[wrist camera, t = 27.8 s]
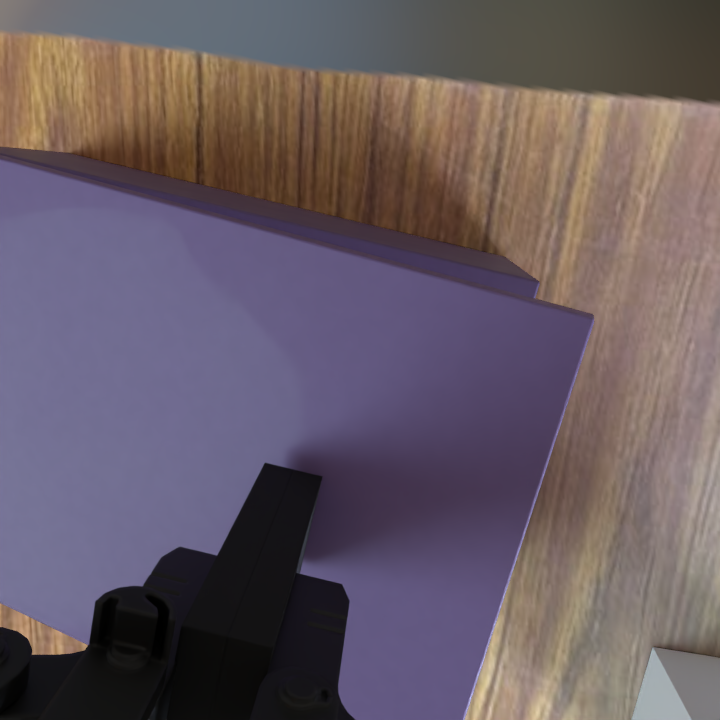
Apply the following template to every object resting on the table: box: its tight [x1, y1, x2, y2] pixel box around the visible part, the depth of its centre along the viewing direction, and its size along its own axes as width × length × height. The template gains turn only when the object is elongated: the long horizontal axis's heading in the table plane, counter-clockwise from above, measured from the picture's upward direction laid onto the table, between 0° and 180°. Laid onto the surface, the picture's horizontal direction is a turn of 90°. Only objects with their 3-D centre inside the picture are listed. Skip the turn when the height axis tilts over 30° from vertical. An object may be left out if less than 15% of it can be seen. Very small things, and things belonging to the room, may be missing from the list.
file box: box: [0, 147, 540, 299], centre depth 25 cm, size 18×14×7 cm
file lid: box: [0, 155, 594, 720], centre depth 19 cm, size 18×14×1 cm
